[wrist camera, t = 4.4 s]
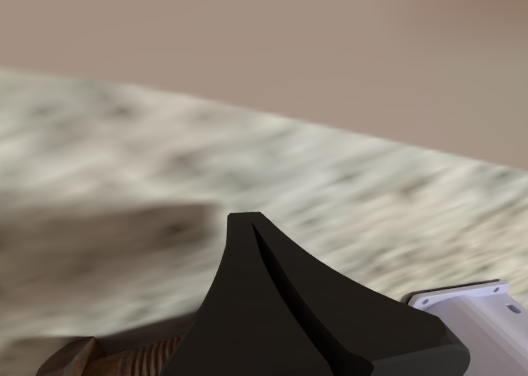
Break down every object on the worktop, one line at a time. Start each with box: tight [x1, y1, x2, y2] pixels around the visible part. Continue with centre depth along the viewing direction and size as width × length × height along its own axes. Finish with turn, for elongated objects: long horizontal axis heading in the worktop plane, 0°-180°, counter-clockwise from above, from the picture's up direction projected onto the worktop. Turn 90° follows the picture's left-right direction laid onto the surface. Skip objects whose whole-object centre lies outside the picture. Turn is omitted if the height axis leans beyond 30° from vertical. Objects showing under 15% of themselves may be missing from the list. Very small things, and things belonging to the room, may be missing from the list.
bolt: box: [36, 334, 184, 376], centre depth 13 cm, size 6×5×15 cm
